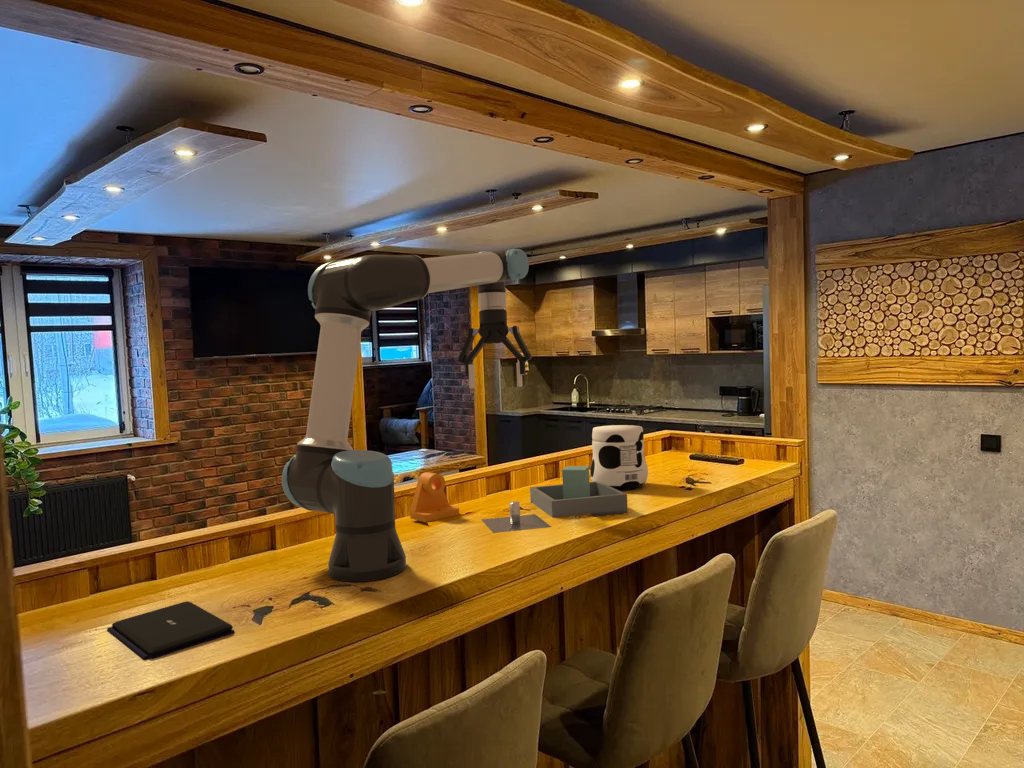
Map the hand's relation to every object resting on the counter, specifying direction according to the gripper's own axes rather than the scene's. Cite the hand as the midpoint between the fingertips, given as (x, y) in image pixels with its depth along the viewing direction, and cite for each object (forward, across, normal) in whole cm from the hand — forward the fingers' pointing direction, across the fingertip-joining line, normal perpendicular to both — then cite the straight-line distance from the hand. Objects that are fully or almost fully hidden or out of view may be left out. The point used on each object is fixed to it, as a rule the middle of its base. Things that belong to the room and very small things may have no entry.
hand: (495, 387), depth 194 cm
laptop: (+34, +27, +93) cm, 103 cm away
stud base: (+33, -10, +22) cm, 41 cm away
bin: (+33, -22, +1) cm, 39 cm away
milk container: (+33, -29, -30) cm, 53 cm away
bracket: (+33, +12, +16) cm, 39 cm away
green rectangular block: (+32, -22, +1) cm, 38 cm away
